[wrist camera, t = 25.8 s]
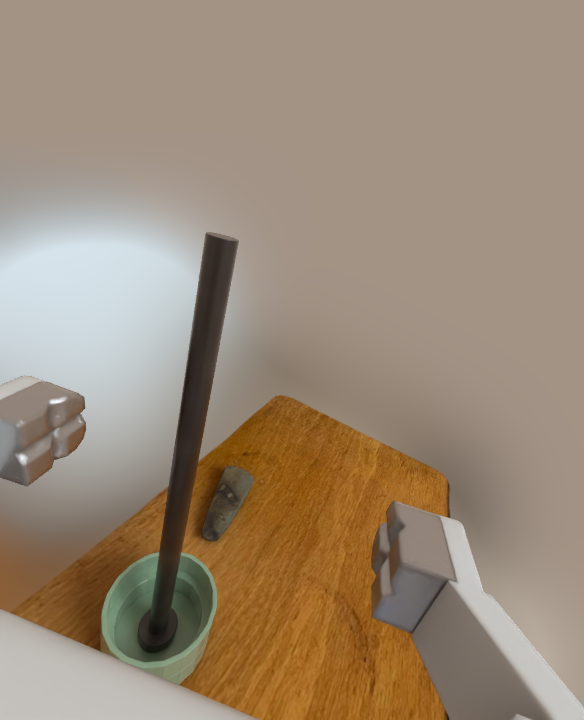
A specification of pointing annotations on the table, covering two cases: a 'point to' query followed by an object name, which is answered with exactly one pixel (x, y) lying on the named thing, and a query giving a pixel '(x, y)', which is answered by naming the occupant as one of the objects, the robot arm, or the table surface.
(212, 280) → the stick
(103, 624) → the bowl
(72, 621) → the table surface
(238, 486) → the stone
